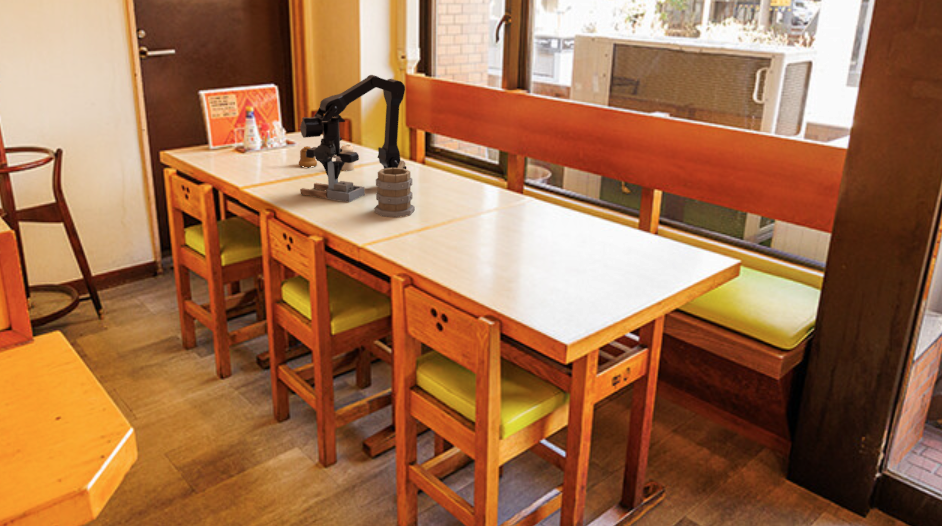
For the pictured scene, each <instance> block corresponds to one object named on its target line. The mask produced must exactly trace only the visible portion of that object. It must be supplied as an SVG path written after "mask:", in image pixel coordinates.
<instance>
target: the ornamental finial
mask: <svg viewBox="0 0 942 526" xmlns="http://www.w3.org/2000/svg"><path fill="white" fill-rule="evenodd" d="M310 148H312V147H311V146H303V148H301V150H299V158H300V159H299V161H298V166H299V165H300V166H304V167H311V166H315V167H316V166H317V165H318V161H317V159H316V158H315V157H314V158H308V157H306V151H307V149H310ZM300 166H299V167H300Z"/></svg>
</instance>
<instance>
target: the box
mask: <svg viewBox="0 0 942 526" xmlns="http://www.w3.org/2000/svg"><path fill="white" fill-rule="evenodd" d="M365 193H366V192H365V186H361V185H354V184H353V191H351V192H349V193H345V192H339V191H332V190H328V191H327V198H326V199H327V200H332V201H339V202H346V203H351V202H353V201H355V200H357V199H360V198H361V197H363V196H365Z"/></svg>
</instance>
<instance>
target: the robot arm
mask: <svg viewBox="0 0 942 526" xmlns="http://www.w3.org/2000/svg"><path fill="white" fill-rule="evenodd" d="M376 88H377V89H380V90H382V92H383V93H382V94H383V97H384V101H385V105H386V109H385V111H386V112H385V126H384V143H383V144H382V146H381V147H379V146H378V148H377V149H378V155H377V158H378V161H379V163H380V164H381V165H382V166H383V169H386V168H397V167H398V165H399V163H400V161H401V152H400V149H399V147H398V138H399V137H398V135H399V133H398V132H399V122H400V121H399V119H400V118H399V116H400V105H401V104H402V101H403V100H404V97H405V93H406V86H405V84H404V83H403V82H402V81H400V80H398V79H393V78H387V79H385V78H381V77H379V76H377V75H373V74H370V75H368V76H366V77H365V78H364V79H362V80H361V81H359V82H357V83H355V84H353V85H352V86H351V87H349V88H348V89H346V90H344V91H342V92H340V93H337V94H334V95H329V96H328V97H325V98H323V99H322V100H321V101H320V102H319V103H320V104H319V108H318V109H317V111H316V112H315V114H314V115H313V117H307V116H306V117H302V118H301V124H300V127H299V128H300V134H301V136H302V137H303V138H305V139H306V138H317V137H321V135H322V136H323V138H321V139H320V144H319V145H318V146H313V147H311V148H310V149H307V151H306V157H308V158H314V157H315V160H316V161H317V162H320V164H322V167H323V168H324V171H325V173H326V175H327V177H328V162H330V161H334V162H333V164H334V166H335V179H338V180H339V177H340V175H341V172H342V170H341V169H342V167H343V165H344V163H352V162H354V163H355V162H357V161H359V160H360V155H359V153H358V152H355V151H354V152H350V151H348V152H345V153H340V152H342V149H340V148H341V141H342V140H343V137H341V134H340V123H345V122H346V119H344V118H343V117H342V116H341V115H340V114H341V113H343V112H344V111H345V110H346V108H347V107H348V105H350V104H351V103H352V102H354V101H356V100H358V99H359V98H361V97H363V96H364V95H365V94H367V93H369V92H371V91H372V90H374V89H376ZM333 159H335V160H333ZM403 168H404V169H406V170H407V166H406V165H405V167H403Z"/></svg>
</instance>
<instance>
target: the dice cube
mask: <svg viewBox="0 0 942 526" xmlns="http://www.w3.org/2000/svg"><path fill="white" fill-rule="evenodd" d="M353 185H354V182H352V181H345V180H343V181H342V180H340V181H338V183H335V184H334V191H339V192H345V193H349V192H351V191H353Z"/></svg>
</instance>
